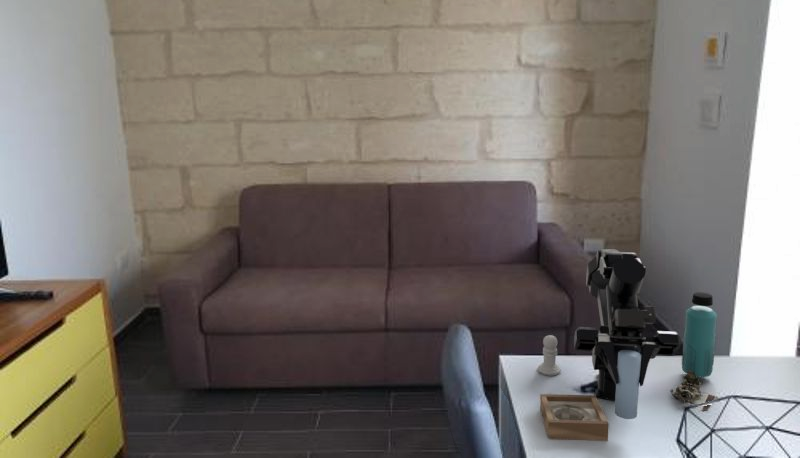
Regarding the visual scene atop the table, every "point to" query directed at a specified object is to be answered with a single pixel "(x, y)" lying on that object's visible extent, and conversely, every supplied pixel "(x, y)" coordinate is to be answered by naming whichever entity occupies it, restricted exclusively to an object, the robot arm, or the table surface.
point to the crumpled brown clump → (689, 391)
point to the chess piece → (549, 357)
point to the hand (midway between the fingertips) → (629, 384)
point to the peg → (627, 384)
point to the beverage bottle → (699, 336)
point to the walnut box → (573, 417)
